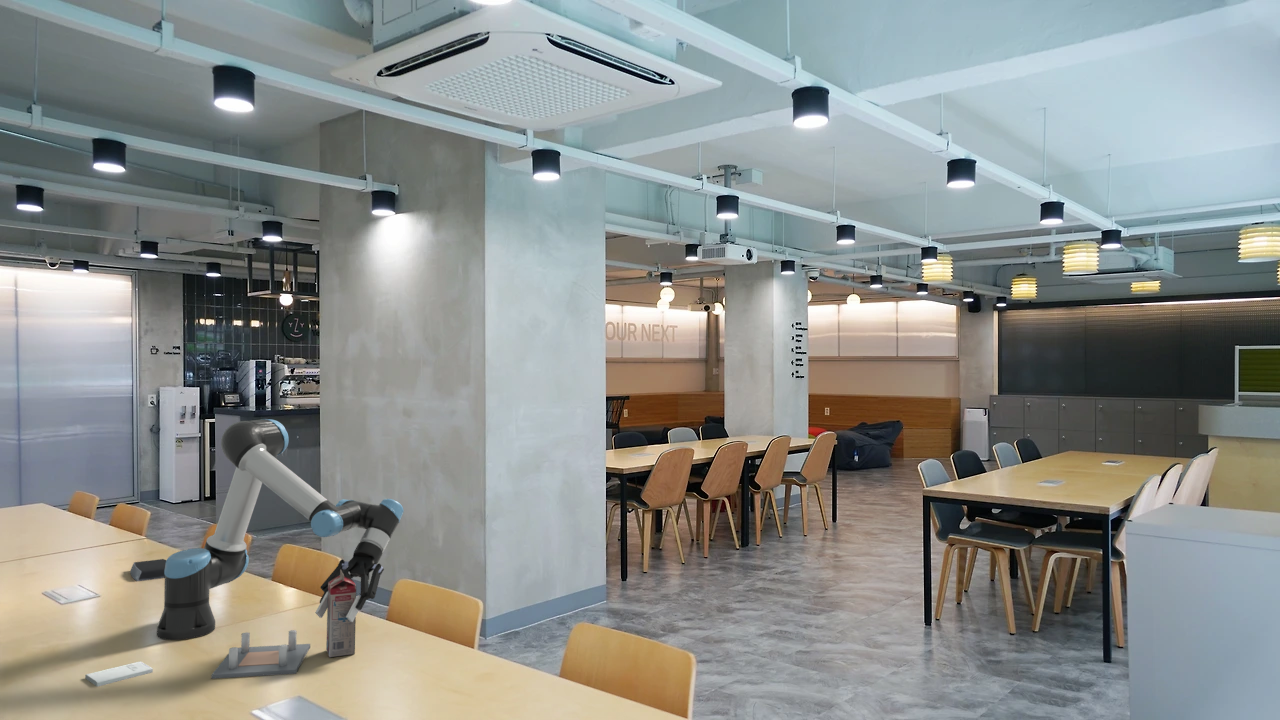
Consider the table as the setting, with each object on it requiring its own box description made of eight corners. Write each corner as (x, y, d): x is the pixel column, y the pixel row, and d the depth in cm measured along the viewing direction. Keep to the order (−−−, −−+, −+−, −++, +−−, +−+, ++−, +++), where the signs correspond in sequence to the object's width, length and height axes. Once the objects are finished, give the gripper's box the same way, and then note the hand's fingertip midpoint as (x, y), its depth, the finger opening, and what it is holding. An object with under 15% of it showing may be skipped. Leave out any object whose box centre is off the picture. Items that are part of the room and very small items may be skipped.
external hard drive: (134, 583, 292) (134, 571, 292) (128, 572, 307) (128, 561, 307) (175, 577, 300) (175, 566, 300) (167, 567, 315) (167, 556, 315)
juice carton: (329, 657, 218) (331, 576, 219) (326, 649, 224) (328, 570, 225) (354, 653, 222) (356, 573, 222) (351, 646, 227) (353, 568, 228)
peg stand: (211, 678, 203) (211, 654, 203) (233, 651, 222) (233, 629, 223) (295, 673, 207) (296, 650, 207) (310, 647, 227) (310, 625, 227)
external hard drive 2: (85, 680, 202) (140, 666, 212) (97, 688, 197) (152, 673, 207) (85, 673, 202) (140, 660, 212) (97, 682, 197) (152, 667, 207)
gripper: (408, 558, 235) (373, 628, 219) (345, 551, 241) (307, 619, 226) (398, 543, 230) (362, 614, 214) (333, 537, 236) (294, 605, 221)
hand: (333, 617), depth 220 cm, fingers closed on juice carton, 9 cm apart
